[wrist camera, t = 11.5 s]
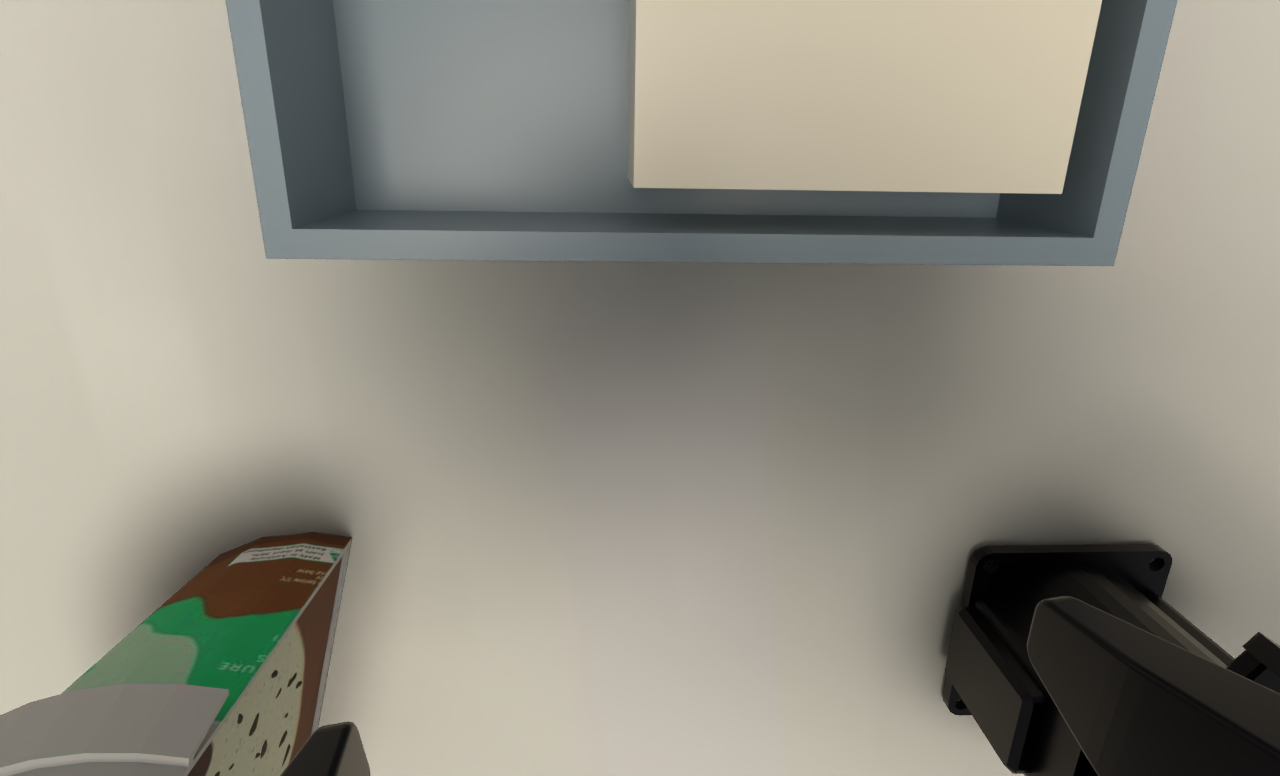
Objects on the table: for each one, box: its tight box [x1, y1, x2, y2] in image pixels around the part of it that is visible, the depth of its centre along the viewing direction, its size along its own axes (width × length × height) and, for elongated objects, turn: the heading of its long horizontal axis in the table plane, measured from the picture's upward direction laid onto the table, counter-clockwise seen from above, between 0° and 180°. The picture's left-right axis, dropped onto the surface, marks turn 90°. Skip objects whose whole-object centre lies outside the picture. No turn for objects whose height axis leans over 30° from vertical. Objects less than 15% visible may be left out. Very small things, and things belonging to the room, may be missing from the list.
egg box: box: [627, 0, 1102, 194], centre depth 15 cm, size 9×7×4 cm
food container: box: [0, 532, 352, 776], centre depth 18 cm, size 12×6×10 cm, turn 164°
